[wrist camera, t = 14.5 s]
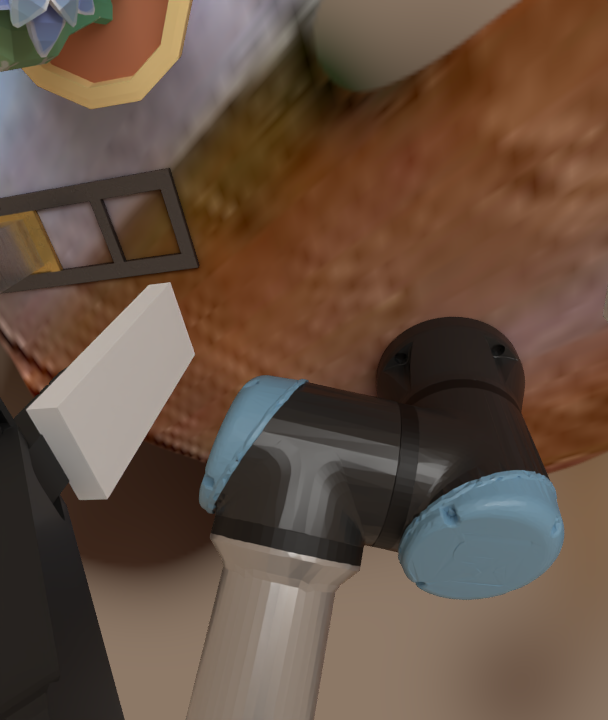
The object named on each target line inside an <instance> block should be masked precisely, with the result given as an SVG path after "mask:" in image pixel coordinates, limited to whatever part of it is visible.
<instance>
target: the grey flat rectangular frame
mask: <svg viewBox="0 0 608 720" xmlns="http://www.w3.org/2000/svg"><path fill="white" fill-rule="evenodd" d="M158 189H161V192H162V195H163V198H164V201H165V204H166V207H167V211H168V214H169V217H170V220H171V223H172V226H173V229H174V232H175V235H176V239H177V242H178V245H179V248H180V251H181V253H175V254H168V255H161V256H153V257H146V258H139V259H132V260H126V259H125V256H124V253H123V251H122V248H121V245H120V243H119V240H118V238H117V235H116V232H115V230H114V227H113V225H112V222H111V219H110V217H109V214H108V212H107V209H106V206H105V204H104V201H103V199H105V198H111V197H116V196H122V195H128V194H134V193H140V192H146V191H152V190H158ZM87 201H90V203H91V206H92V208H93V211H94V213H95V216H96V218H97V221H98V223H99V226H100V228H101V231H102V233H103V236H104V238H105V241H106V243H107V246H108V248H109V251H110V253H111V256H112V258H113V261H114V262H111V263H103V264H96V265H89V266H82V267H75V268H68V269H63V268H62V266H61V264H60V261H59V259H58V257H57V255H56V253H55V250H54V248H53V246H52V244H51V242H50V240H49V237H48V235H47V233H46V231H45V229H44V226H43V224H42V222H41V220H40V218H39V215H38V213H37V211H36V210H40V209H46V208H52V207H58V206H63V205H69V204H75V203H81V202H87ZM19 219H23V221H24V223H25V226H26V228H27V230H28V232H29V234H30V236H31V238H32V240H33V242H34V244H35V247H36V249H37V251H38V253H39V255H40V257H41V259H42V261H43V263H44V266H43V267H41V268H40V269H38V270H36V271H35V272H33V273H32V274H30V275H29V276H27V277H25V278H24V279H22V280H21V281H19V282H18V283H16V284H14V285H13V286H11V287H10V288H8V289H7V290H5V291H3V292H2V293H8V292H16V291H24V290H31V289H39V288H46V287H54V286H61V285H69V284H77V283H84V282H92V281H99V280H107V279H114V278H122V277H129V276H137V275H145V274H152V273H160V272H167V271H175V270H182V269H190V268H197V267H199V266H200V265H199V262H198V259H197V255H196V252H195V249H194V246H193V242H192V239H191V236H190V232H189V229H188V226H187V223H186V219H185V216H184V213H183V209H182V206H181V203H180V200H179V196H178V193H177V190H176V186H175V183H174V180H173V177H172V173H171V170H170V168H166V169H161V170H155V171H149V172H144V173H138V174H133V175H127V176H121V177H116V178H110V179H105V180H99V181H93V182H88V183H82V184H77V185H71V186H66V187H60V188H54V189H49V190H43V191H38V192H32V193H26V194H21V195H15V196H10V197H4V198H0V223H1V222H7V221H13V220H19ZM0 294H1V293H0Z"/></svg>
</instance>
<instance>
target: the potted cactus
mask: <svg viewBox="0 0 608 720" xmlns="http://www.w3.org/2000/svg"><path fill="white" fill-rule="evenodd" d="M192 1H193V0H0V72H2V71H8V70H13V69H19V68H22V70H23V71H24V72H25V73H26V74H27V75H28V76H29V77H30V78H31V80H32V81H33V82H34V83H35V84H36V85H37V86H38V87H41V88H43V89H45V90H47V91H50V92H52V93H54V94H57V95H59V96H61V97H64V98H66V99H68V100H70V101H73V102H75V103H77V104H80V105H82V106H84V107H87V108H89V109H95V108H101V107H107V106H112V105H118V104H124V103H130V102H136V101H141V100H142V99H143V98H144V97H145V95H146V94H147V93H148V92H149V91H150V90H151V89H152V88H153V87H154V86H155V84H156V83H157V82H158V81H159V80H160V79H161V78H162V77H163V76H164V75H165V73H166V72H167V71H168V70H169V69H170V68H171V67H172V66H173V65H174V64H175V62H176V61H177V60H178V59H179V58H180V57H181V54H182V50H183V45H184V40H185V35H186V30H187V25H188V20H189V15H190V11H191V6H192Z"/></svg>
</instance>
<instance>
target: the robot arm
mask: <svg viewBox="0 0 608 720" xmlns="http://www.w3.org/2000/svg"><path fill="white" fill-rule="evenodd" d="M603 317H604V318H605V319H606V320H607V322H608V286H607V293H606V299H605V306H604V313H603ZM194 355H195V353H194V350H193V347H192V344H191V341H190V339H189V336H188V333H187V330H186V327H185V324H184V321H183V318H182V315H181V312H180V309H179V307H178V304H177V301H176V298H175V295H174V292H173V289H172V286H171V283H170V282H169V283H162V284H154V285H148V286H147V287H146V288H145V289H144V290H143V291H142V292H141V293H140V295H139V296H138V297H137V298H136V299H135V300H134V301H133V302H132V303H131V304H130V305H129V306H128V307H127V308H126V309H125V310H124V311H123V312H122V313H121V314H120V315H119V316H118V317H117V318H116V319H115V320H114V321H113V322H112V323H111V324H110V325H109V326H108V327H107V328H106V329H105V330H104V331H103V332H102V333H101V334H100V335H99V336H98V337H97V338H96V339H95V340H94V341H93V342H92V343H91V344H90V345H89V346H88V347H87V348H86V349H85V350H84V351H83V352H82V353H81V354H80V355H79V356H78V357H77V358H76V359H75V360H74V361H73V363H72V364H71V365H70V366H68V367H67V368H65V369H64V370H62V371H61V372H59V373H58V374H57V375H56V376H55V377H54V378H53V379H52V380H51V381H50V382H49V385H46V386H45V387H44V388H43V389H42V390H41V391H40V395H37V396H36V397H35V398H34V399H33V400H32V401H31V402H30V403H29V404H28V405H27V406H26V407H25V408H24V409H23V410H22V411H21V412H20V413H19V414H18V415H17V416H16V417H15V418H14V419H13V418H12V416H11V414H10V413H9V411H8V410H7V408H6V406H5V405H4V403H3V402H2V400H1V398H0V720H125V719H124V716H123V712H122V708H121V705H120V701H119V697H118V694H117V690H116V686H115V682H114V679H113V675H112V672H111V668H110V664H109V661H108V657H107V653H106V650H105V646H104V642H103V638H102V635H101V631H100V627H99V623H98V620H97V616H96V612H95V609H94V605H93V601H92V598H91V594H90V590H89V587H88V583H87V579H86V575H85V572H84V568H83V565H82V561H81V557H80V554H79V550H78V546H77V542H76V539H75V535H74V531H73V528H72V524H71V520H70V516H69V513H68V509H67V505H66V504H65V502H64V500H63V499H62V497H61V496H60V493H61V492H62V490H63V489H64V488H65V486H66V485H67V484H68V482H69V483H70V485H71V487H72V489H73V490H74V492H75V493H76V495H77V497H78V499H79V500H92V499H108V497H109V496H110V494H111V492H112V491H113V489H114V487H115V486H116V484H117V482H118V481H119V479H120V477H121V476H122V474H123V473H124V471H125V469H126V468H127V466H128V464H129V463H130V461H131V459H132V458H133V456H134V454H135V453H136V451H137V449H138V448H139V446H140V444H141V443H142V441H143V440H144V438H145V436H146V435H147V433H148V431H149V430H150V428H151V426H152V425H153V423H154V421H155V420H156V418H157V416H158V415H159V413H160V411H161V410H162V408H163V406H164V405H165V403H166V401H167V400H168V398H169V397H170V395H171V393H172V392H173V390H174V388H175V387H176V385H177V383H178V382H179V380H180V378H181V377H182V375H183V373H184V372H185V370H186V368H187V367H188V365H189V363H190V362H191V360H192V359H193V357H194ZM524 388H525V376H524V370H523V366H522V364H521V361H520V359H519V357H518V354H517V352H516V350H515V348H514V347H513V345H512V344H511V342H510V341H509V340H508V339H507V338H506V337H505V336H504V335H503V334H502V333H501V332H500V331H498V330H497V329H495V328H494V327H492V326H490V325H488V324H486V323H484V322H481V321H478V320H474V319H469V318H463V317H444V318H437V319H432V320H428V321H425V322H422V323H420V324H417V325H415V326H413V327H411V328H409V329H408V330H406V331H405V332H403V333H402V334H400V335H399V336H398V337H397V338H396V339H395V340H394V341H393V342H392V343H391V344H390V345H389V346H388V348H387V349H386V350H385V352H384V354H383V355H382V358H381V360H380V362H379V366H378V370H377V396H378V398H377V397H373V396H368V395H363V394H359V393H354V392H350V391H345V390H340V389H336V388H331V387H327V386H322V385H318V384H313V383H309V381H308V380H306V379H300V380H294V379H287V378H281V377H275V376H269V375H263V376H258V377H255V378H253V379H251V380H250V381H249V382H247V383H246V384H245V385H244V386H243V388H242V389H241V390H240V392H239V393H238V394H237V396H236V398H235V399H234V401H233V403H232V404H231V406H230V408H229V410H228V412H227V414H226V416H225V418H224V420H223V423H222V425H221V427H220V430H219V432H218V434H217V437H216V439H215V442H214V444H213V447H212V450H211V453H210V455H209V458H208V462H207V465H206V468H205V472H206V473H205V475H204V478H203V481H202V484H201V487H200V492H199V503H200V505H201V507H202V508H204V509H205V510H206V511H207V512H208V513H212V514H214V513H215V512H216V514H215V519H214V523H213V527H212V531H211V535H210V539H211V540H212V542H213V544H214V546H215V548H216V549H217V551H218V553H219V555H220V557H221V558H222V563H223V570H222V573H221V577H220V582H219V586H218V590H217V594H216V598H215V602H214V606H213V610H212V614H211V619H210V622H209V626H208V630H207V634H206V639H205V643H204V647H203V651H202V655H201V659H200V663H199V667H198V671H197V675H196V679H195V683H194V687H193V692H192V696H191V700H190V704H189V708H188V712H187V716H186V720H314V716H315V710H316V704H317V699H318V693H319V686H320V680H321V674H322V668H323V663H324V656H325V651H326V644H327V639H328V633H329V627H330V621H331V615H332V608H333V603H334V597H335V592H336V590H337V589H338V588H339V586H340V585H341V584H343V583H344V582H345V581H347V580H348V579H349V578H351V577H352V576H353V575H355V574H356V573H357V572H359V571H360V565H361V560H362V553H363V547H364V545H367V546H372V547H377V548H381V549H386V550H390V551H394V552H398V553H399V555H398V559H399V560H400V564H401V566H402V568H403V570H404V572H405V574H406V576H407V577H408V578H409V579H410V580H411V581H412V582H415V583H416V585H417V587H419V588H420V589H422V590H424V591H425V592H428V593H430V594H433V595H436V596H439V597H444V598H449V599H462V600H472V599H482V598H489V597H494V596H498V595H502V594H505V593H507V592H509V591H512V590H515V589H518V588H521V587H523V586H525V585H527V584H529V583H530V582H532V581H533V580H535V579H537V578H538V577H539V576H541V575H542V574H543V573H544V572H545V571H546V570H547V569H548V568H549V567H550V566H551V565H552V564H553V562H554V561H555V560H556V558H557V557H558V555H559V553H560V550H561V548H562V545H563V540H564V525H563V521H562V518H561V514H560V511H559V508H558V504H557V500H556V499H557V497H556V491H555V488H554V486H553V485H552V483H551V482H550V479H549V477H548V475H547V472H546V470H545V468H544V465H543V463H542V461H541V458H540V456H539V454H538V451H537V449H536V447H535V444H534V442H533V439H532V437H531V435H530V432H529V430H528V428H527V425H526V423H525V421H524V418H523V416H522V414H521V410H522V403H523V396H524Z"/></svg>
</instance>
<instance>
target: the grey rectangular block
mask: <svg viewBox="0 0 608 720" xmlns="http://www.w3.org/2000/svg"><path fill="white" fill-rule="evenodd" d="M43 266H44V263H43V261H42V259H41V257H40V255H39V253H38V251H37V249H36V247H35V244H34V242H33V240H32V238H31V236H30V234H29V232H28V230H27V228H26V226H25V223H24V221H23V219H19V220H13V221H7V222H1V223H0V293H2V292H3V291H5V290H7V289H8V288H10V287H11V286H13V285H14V284H16V283H18V282H19V281H21V280H22V279H24V278H25V277H27V276H29V275H30V274H32V273H33V272H35V271H36V270H38V269H40V268H41V267H43Z"/></svg>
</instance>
